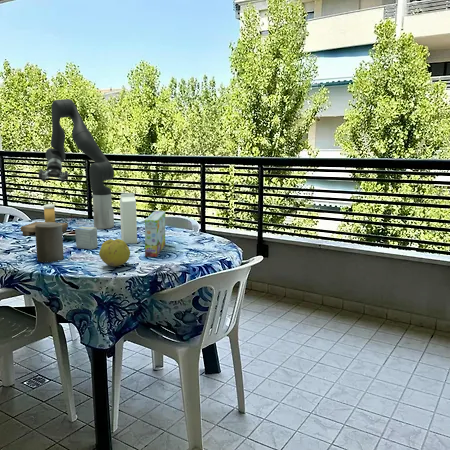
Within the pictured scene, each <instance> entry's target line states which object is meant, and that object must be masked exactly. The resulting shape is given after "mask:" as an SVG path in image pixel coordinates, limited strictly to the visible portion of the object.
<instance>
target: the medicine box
mask: <svg viewBox="0 0 450 450" xmlns="http://www.w3.org/2000/svg"><path fill="white" fill-rule="evenodd" d="M74 229H75V230H74V233H75V245H76V246H75V247H76V249H84V250H93V249H96V248H98V247H99V244H98V232H97V231H98V229H97V228H94V227H93V226H78V227H76V228H74Z"/></svg>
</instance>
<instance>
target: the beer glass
mask: <svg viewBox="0 0 450 450" xmlns="http://www.w3.org/2000/svg"><path fill="white" fill-rule="evenodd" d="M55 208H56V207H55V204H54V203H52V204H51V203H48V204H47V203H46V204H44V205H43V213H44V222H47V221H48V222H55V223H56V210H55Z"/></svg>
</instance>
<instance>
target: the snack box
mask: <svg viewBox="0 0 450 450" xmlns="http://www.w3.org/2000/svg"><path fill="white" fill-rule="evenodd" d="M165 246H166V211H162V210H160V211H157V210H156V211H153V212H151V214H150V215H148V217H146V218H145V219H144V257H150V258H151V257H152V258H155V257H156V258H158V256H159V255H160V253H161V251H162V250H164V247H165Z"/></svg>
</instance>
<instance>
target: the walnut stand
mask: <svg viewBox="0 0 450 450" xmlns="http://www.w3.org/2000/svg"><path fill="white" fill-rule="evenodd" d="M39 223H48V222H45V221H35V222H32V223H29V224H26V225H22V226H20V232H22V236H31V235H33V234H36V233H35V225H36V224H39ZM60 223H61V224H62V232H64V231H66V232H67V231H68V228H69V223H67V222H60ZM64 233H65V232H64Z"/></svg>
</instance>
